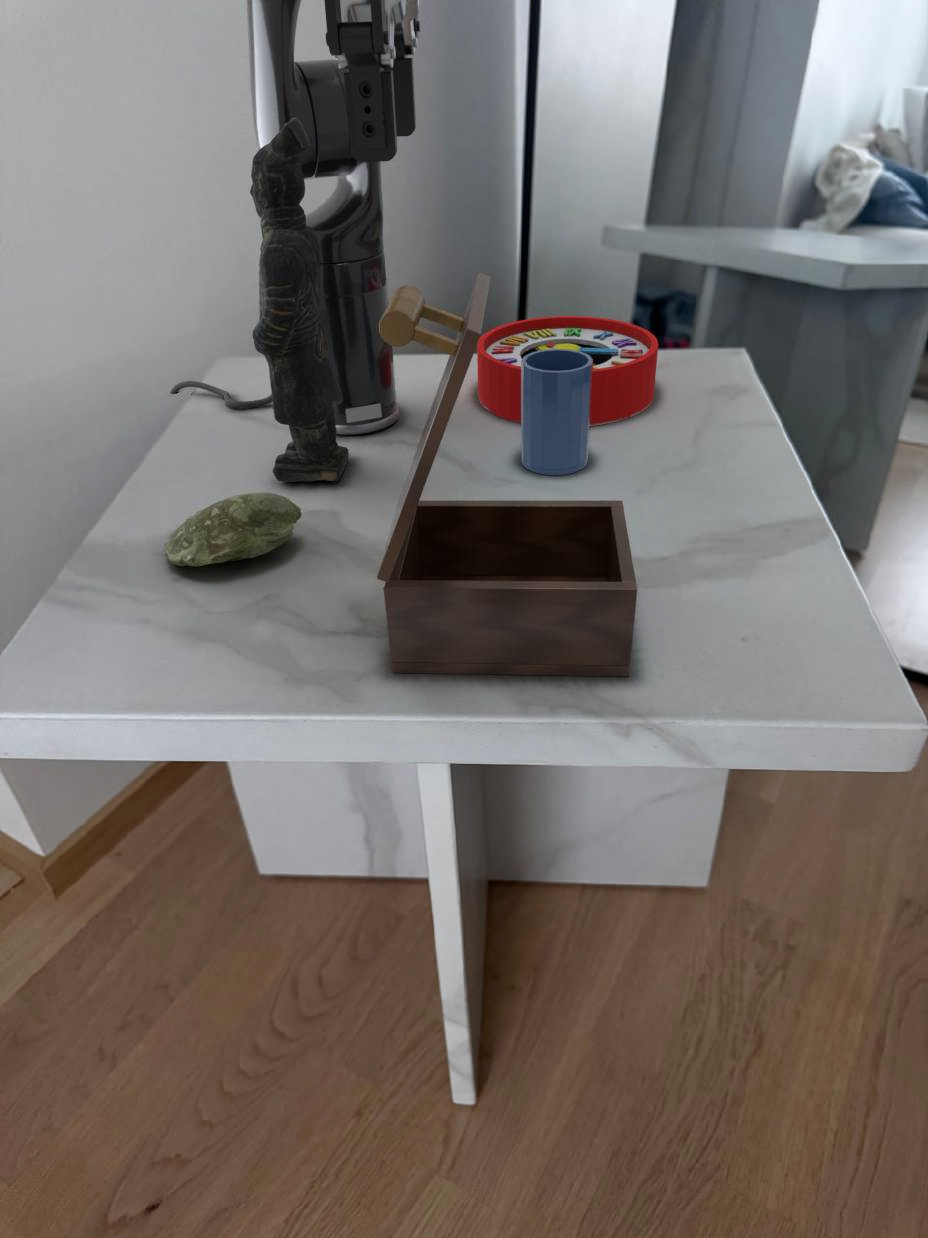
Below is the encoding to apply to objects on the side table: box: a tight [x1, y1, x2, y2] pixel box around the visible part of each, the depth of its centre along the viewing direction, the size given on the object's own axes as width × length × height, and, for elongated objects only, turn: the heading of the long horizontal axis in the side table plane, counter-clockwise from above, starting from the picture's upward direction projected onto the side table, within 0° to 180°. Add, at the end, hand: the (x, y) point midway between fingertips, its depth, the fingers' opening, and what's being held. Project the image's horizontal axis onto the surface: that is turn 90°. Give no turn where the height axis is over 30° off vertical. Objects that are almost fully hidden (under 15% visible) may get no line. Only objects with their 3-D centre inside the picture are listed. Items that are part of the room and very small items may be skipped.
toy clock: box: [476, 315, 659, 427], centre depth 97 cm, size 20×6×20 cm
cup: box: [520, 349, 593, 476], centre depth 82 cm, size 6×6×10 cm
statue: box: [249, 117, 350, 483], centre depth 76 cm, size 10×7×30 cm
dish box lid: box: [376, 272, 492, 583], centre depth 54 cm, size 17×12×5 cm
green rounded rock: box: [164, 491, 303, 567], centre depth 72 cm, size 10×7×10 cm
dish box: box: [382, 500, 638, 677], centre depth 60 cm, size 16×12×7 cm
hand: (386, 147), depth 46 cm, fingers open, 8 cm apart
